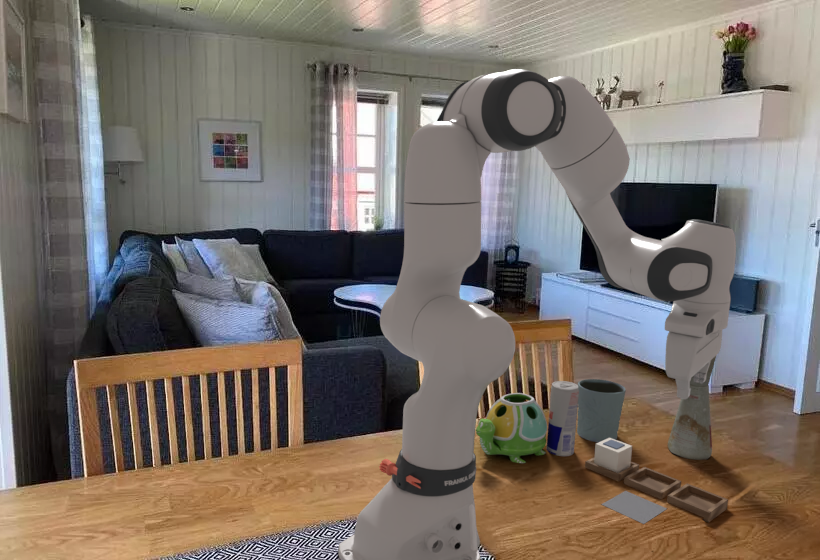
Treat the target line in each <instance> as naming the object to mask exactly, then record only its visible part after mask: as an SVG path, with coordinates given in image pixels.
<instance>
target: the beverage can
mask: <svg viewBox="0 0 820 560" xmlns="http://www.w3.org/2000/svg"><path fill="white" fill-rule="evenodd" d="M578 395H579V389H578V383H574V382H572V381H565V380H557V381H553V382H551V387H550V399H549V409H548V410H549V411H548V422H547V435H546V451H547V452H548V453H549V454H552V455H554V456H559V457H570V456H572V455H573V454H575V453H574V452H575V443H576V442H575V440H576V433H577V431H576V430H577V420H578Z"/></svg>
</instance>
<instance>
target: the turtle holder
mask: <svg viewBox="0 0 820 560" xmlns="http://www.w3.org/2000/svg"><path fill="white" fill-rule="evenodd" d="M477 424H478V426H476V427H475V434H476V435H477V437H479V444H480V448H481V450H482V451H483V452H484V453H485V454H486V455H488V456H493V455H503V456H508V457H509V460H510V462H512V463H515V464H526V463H527V462H526V460H524V459H522V458H521V456H529V455H533V454H534V455H535V456H543V455H545V454H546V453H547V452H546V450H544V448H545V447H546V446H547V433H548V422H547V419H546V415H545V413H544V411H543V408H542V407H541V406H540V404H539V403H538V402H537V401H536V400H535V398H534V397H533V396H532V395H530V394H526V393H522V392H514V393H513V392H512V393H508V394H504V395H502V396H500V398H499V399H497V400H496V401H495V402H494V403H493V404H492V405H491V407H490V408H489V410H488V411H487V414H486V416H485V418H480V419H479V421H478V423H477Z"/></svg>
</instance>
